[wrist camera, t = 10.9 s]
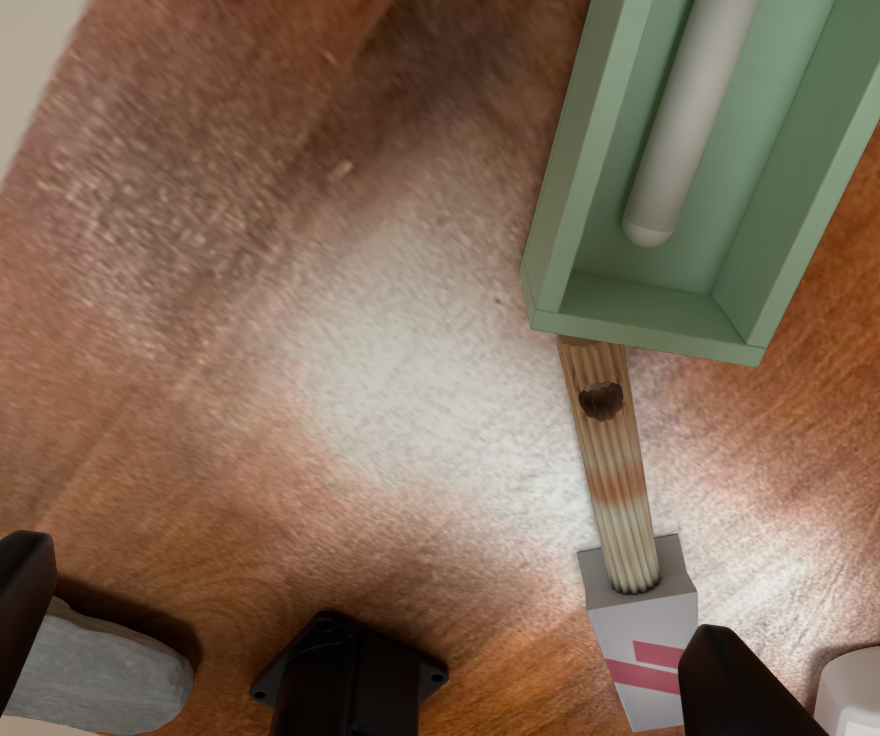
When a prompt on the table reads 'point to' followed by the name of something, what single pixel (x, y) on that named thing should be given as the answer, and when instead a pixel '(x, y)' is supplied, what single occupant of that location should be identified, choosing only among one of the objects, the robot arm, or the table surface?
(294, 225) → the table surface
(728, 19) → the rod with rounded ends
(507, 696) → the table surface
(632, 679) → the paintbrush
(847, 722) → the eye dropper bottle
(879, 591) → the table surface
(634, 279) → the bin
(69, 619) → the stone
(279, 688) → the robot arm
